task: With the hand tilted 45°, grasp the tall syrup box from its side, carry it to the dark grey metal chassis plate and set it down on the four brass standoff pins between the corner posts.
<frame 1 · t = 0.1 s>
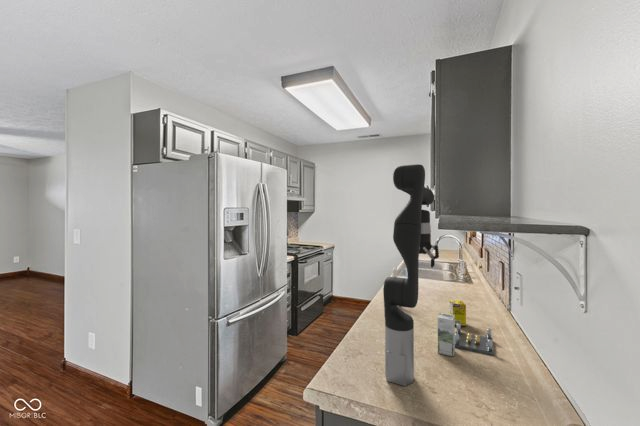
hand: (422, 266, 133), 29 cm above the counter, tool pointing down, fingers open, 8 cm apart
supplement box: (457, 324, 137), on the counter
syrup box: (446, 353, 110), on the counter
cosmetic bottle: (395, 305, 165), on the counter
chassis plate: (473, 343, 117), on the counter
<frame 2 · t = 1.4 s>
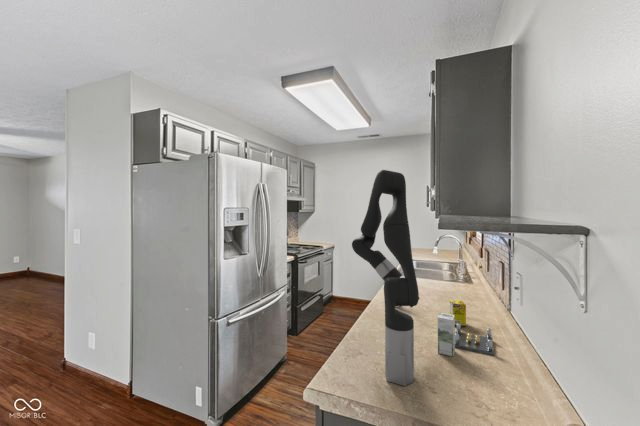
hand: (415, 302, 116), 18 cm above the counter, tool tilted 45°, fingers open, 8 cm apart
nothing on the counter moved.
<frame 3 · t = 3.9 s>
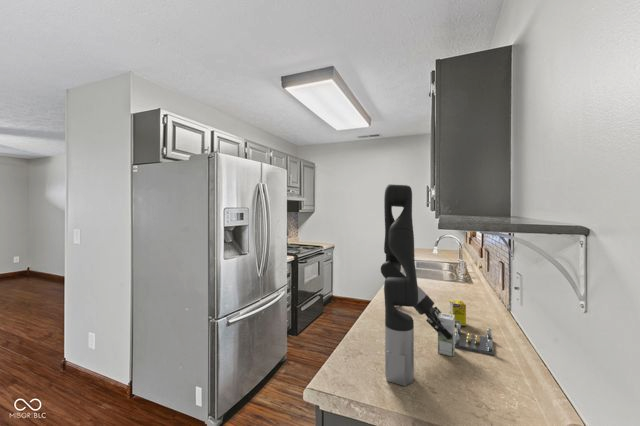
hand: (451, 334, 109), 7 cm above the counter, tool tilted 45°, fingers closed on syrup box, 6 cm apart
syrup box: (446, 353, 110), on the counter, touching gripper
everything else where it was.
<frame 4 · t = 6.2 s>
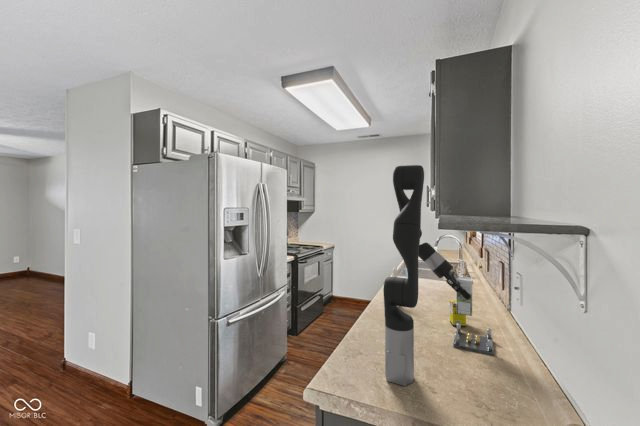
hand: (469, 295, 115), 21 cm above the counter, tool tilted 45°, fingers closed on syrup box, 6 cm apart
syrup box: (464, 313, 116), point 13 cm above the counter, touching gripper
everything else where it was.
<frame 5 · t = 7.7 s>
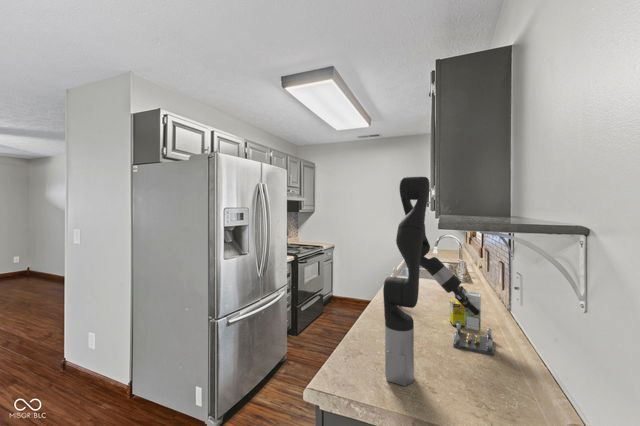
hand: (477, 311, 116), 14 cm above the counter, tool tilted 45°, fingers closed on syrup box, 6 cm apart
syrup box: (472, 328, 117), point 7 cm above the counter, touching gripper
everything else where it was.
when the fingers open (12 cm above the counter, at t = 8.7 s): syrup box drops 1 cm, resting on chassis plate.
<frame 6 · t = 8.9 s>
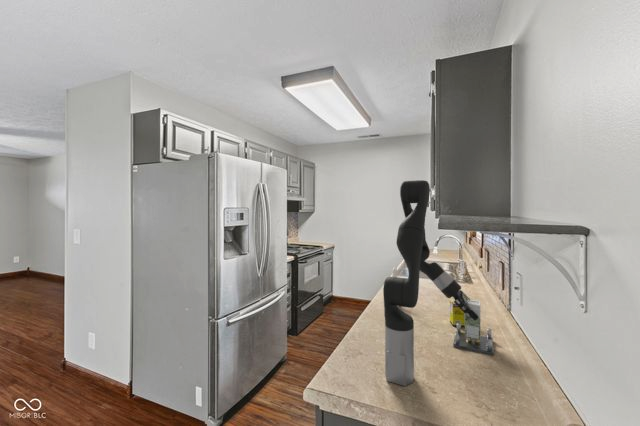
hand: (477, 315, 116), 12 cm above the counter, tool tilted 45°, fingers open, 7 cm apart
syrup box: (472, 336, 117), point 3 cm above the counter, touching chassis plate
everything else where it was.
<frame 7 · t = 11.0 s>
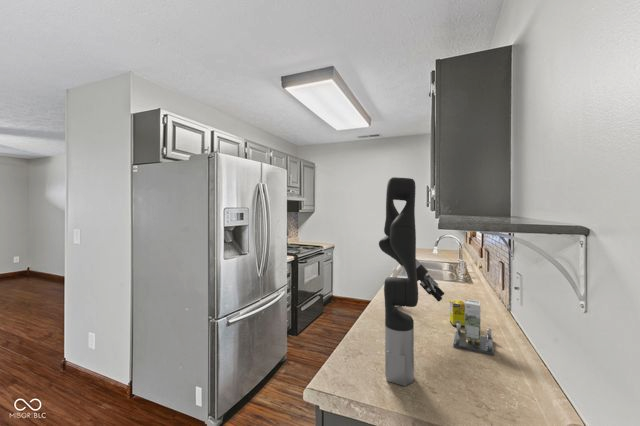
hand: (441, 297, 123), 17 cm above the counter, tool tilted 45°, fingers open, 8 cm apart
nothing on the counter moved.
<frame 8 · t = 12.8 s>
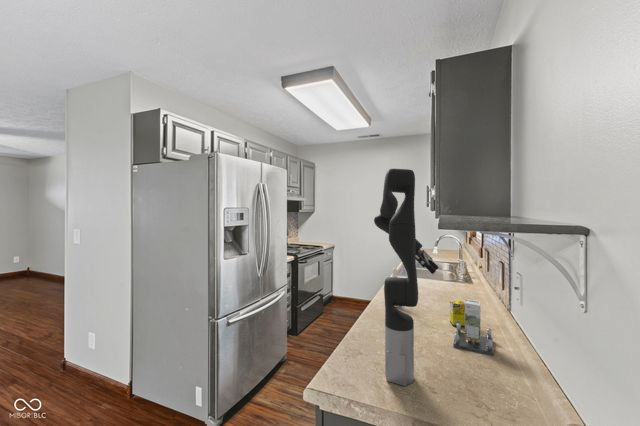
hand: (435, 270, 126), 29 cm above the counter, tool tilted 45°, fingers open, 8 cm apart
nothing on the counter moved.
at the end: syrup box 0.3 cm from the chassis plate (horizontally); syrup box point 3.0 cm above the counter; syrup box tilted 0° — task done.
